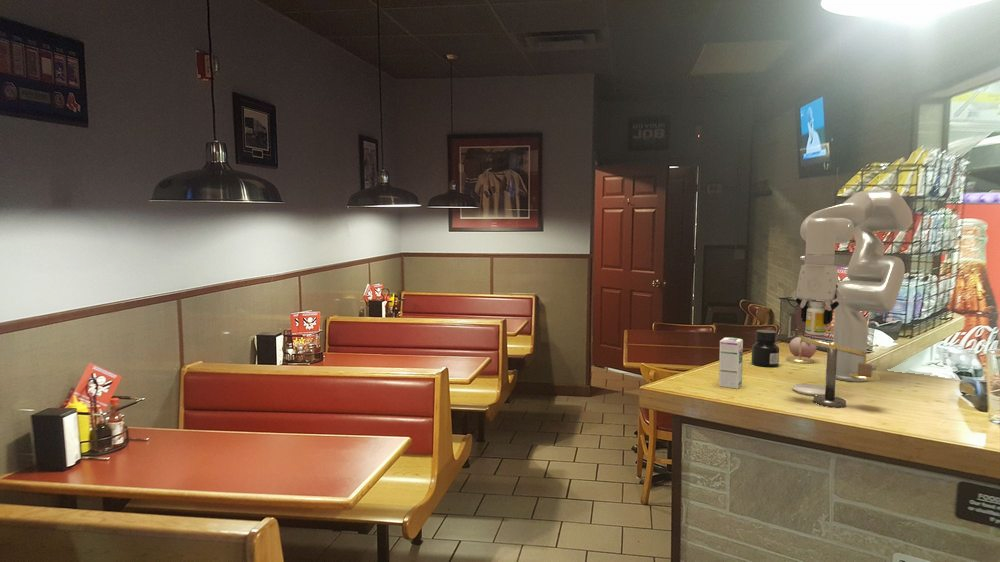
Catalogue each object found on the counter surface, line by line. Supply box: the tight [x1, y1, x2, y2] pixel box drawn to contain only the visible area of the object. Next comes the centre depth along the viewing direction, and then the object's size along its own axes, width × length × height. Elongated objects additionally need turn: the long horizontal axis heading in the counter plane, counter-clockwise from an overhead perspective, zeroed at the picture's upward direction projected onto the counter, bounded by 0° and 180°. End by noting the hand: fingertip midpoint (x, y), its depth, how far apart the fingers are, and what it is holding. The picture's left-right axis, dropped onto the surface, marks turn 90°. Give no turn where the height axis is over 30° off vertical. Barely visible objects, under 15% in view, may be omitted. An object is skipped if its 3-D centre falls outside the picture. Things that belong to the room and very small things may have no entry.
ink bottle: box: [751, 329, 780, 368], centre depth 217 cm, size 10×9×12 cm
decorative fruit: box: [788, 333, 817, 359], centre depth 223 cm, size 9×8×10 cm
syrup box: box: [718, 337, 744, 390], centre depth 188 cm, size 6×6×14 cm
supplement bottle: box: [804, 299, 827, 336], centre depth 180 cm, size 5×5×10 cm
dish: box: [791, 383, 826, 396], centre depth 182 cm, size 11×11×1 cm
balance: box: [785, 336, 881, 409], centre depth 169 cm, size 8×23×18 cm, turn 62°
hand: (816, 321), depth 180 cm, fingers closed on supplement bottle, 5 cm apart
